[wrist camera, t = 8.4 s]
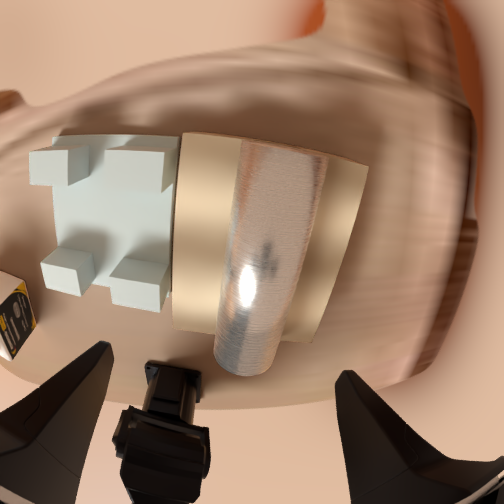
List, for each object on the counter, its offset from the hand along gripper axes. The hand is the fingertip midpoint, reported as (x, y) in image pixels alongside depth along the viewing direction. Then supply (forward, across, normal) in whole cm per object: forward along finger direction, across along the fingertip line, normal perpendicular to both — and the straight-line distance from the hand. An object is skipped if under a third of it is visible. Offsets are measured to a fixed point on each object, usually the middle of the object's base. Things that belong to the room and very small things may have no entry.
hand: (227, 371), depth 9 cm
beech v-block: (+13, -2, 0) cm, 13 cm away
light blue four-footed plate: (+13, +10, 0) cm, 17 cm away
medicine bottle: (+13, +27, +12) cm, 32 cm away
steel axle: (+7, -2, 0) cm, 7 cm away
